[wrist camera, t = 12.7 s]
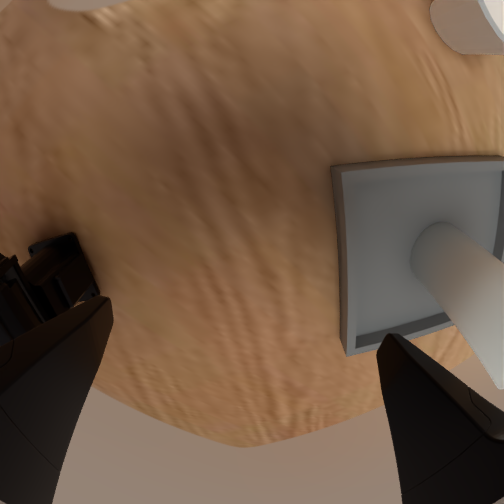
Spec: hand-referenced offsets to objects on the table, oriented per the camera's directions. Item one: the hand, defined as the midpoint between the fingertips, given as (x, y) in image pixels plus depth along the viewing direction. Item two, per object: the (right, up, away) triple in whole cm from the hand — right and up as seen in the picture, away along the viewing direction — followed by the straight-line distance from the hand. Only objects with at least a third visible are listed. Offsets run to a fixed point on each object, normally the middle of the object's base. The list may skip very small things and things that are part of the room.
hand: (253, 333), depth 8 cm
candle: (+16, +2, +12) cm, 20 cm away
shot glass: (+17, +21, +5) cm, 28 cm away
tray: (+16, +3, +13) cm, 21 cm away
